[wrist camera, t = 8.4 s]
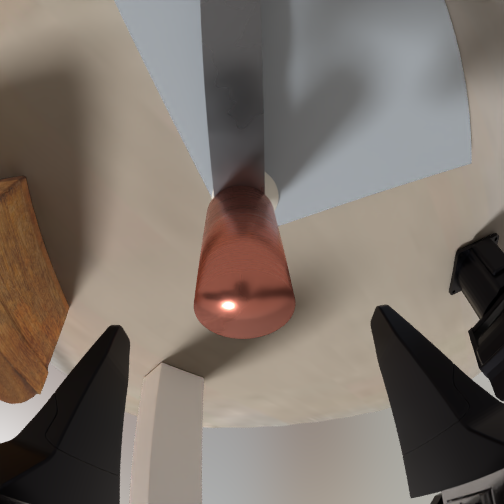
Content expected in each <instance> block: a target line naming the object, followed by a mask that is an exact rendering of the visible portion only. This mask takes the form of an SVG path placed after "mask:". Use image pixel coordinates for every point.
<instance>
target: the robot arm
mask: <svg viewBox="0 0 504 504" xmlns="http://www.w3.org/2000/svg"><path fill="white" fill-rule="evenodd" d="M498 239H499V235H498V234H497V233H494V234H492V235H490V236H488V237H486V238H484V239H482V240H480V241H477V242H475V243H473V244H471V245H469V246H467V247H464V248H462V249H460V250H458V251H457V253H456V255H455V261H454V267H453V273H452V278H451V283H450V288H449V293H450V294H451V295H453V294H456V293H458V292H460V291H462V292H463V294H464V295H465V297H466V298H467V300H468V301H469V303H470V304H471V306H472V308H473V309H474V311H475V312H476V314H477V316H478V317H479V319H480V320H479V321H478V322H477V324H476V325H475V326H474V327H473V328H471V329H470V330H469V331H468V333H469V336H470V340H471V343H472V346H473V349H474V353H475V356H476V359H477V363H478V366H479V369H480V370H481V371H482V372H483V373H484V375H485V376H486V377H487V378H489V380H490V382H491V385H492V387H493V390H494V393H495V395H496V397H497V398H498V399H500V400H501V401H504V253H503V252H502V250H501V249H500V248H499V247H498V246H497V243H498ZM371 329H372V334H373V339H374V344H375V349H376V354H377V359H378V363H379V367H380V370H381V373H382V377H383V380H384V384H385V387H386V390H387V394H388V398H389V401H390V405H391V408H392V412H393V416H394V420H395V424H396V428H397V432H398V436H399V441H400V445H401V449H402V455H403V460H404V465H405V470H406V475H407V480H408V486H409V491H410V497H411V498H415V497H420V496H424V495H428V494H432V493H436V492H440V491H441V493H440V494H438V495H436V496H435V497H434V499H433V501H432V502H431V504H504V403H502V402H499V401H498V400H497V399H496V398H494V397H493V396H492V395H490V394H489V393H488V392H487V391H485V390H484V389H483V388H482V387H480V386H479V385H478V384H476V383H475V382H474V381H473V380H472V379H470V378H469V377H468V376H467V375H466V374H465V373H464V372H463V371H461V370H460V369H459V368H458V367H457V366H456V365H455V364H453V362H452V361H451V360H450V359H448V358H447V357H446V356H445V355H444V354H443V353H442V352H441V351H440V350H439V349H438V348H436V347H435V346H434V345H433V344H432V343H431V342H430V341H429V340H428V339H426V338H425V337H424V336H423V335H422V334H421V333H420V332H419V331H418V330H416V329H415V328H414V327H413V326H412V325H411V324H410V323H408V322H407V321H406V320H405V319H404V318H403V317H402V316H400V315H399V314H398V313H397V312H396V311H395V310H393V309H392V308H391V307H390V306H389V305H380V306H377V307H376V309H375V311H374V314H373V316H372V319H371ZM129 353H130V340H129V338H128V336H127V334H126V333H125V331H124V329H123V328H122V326H120V325H111V326H109V327H108V328H107V329H106V331H105V332H104V333H103V334H102V335H101V336H100V337H99V339H98V340H97V341H96V342H95V343H94V345H93V346H92V347H91V348H90V349H89V350H88V352H87V353H86V354H85V355H84V356H83V358H82V359H81V360H80V361H79V363H78V364H77V365H76V366H75V367H74V369H73V370H72V371H71V372H70V374H69V375H68V376H67V377H66V379H65V380H64V381H63V382H62V384H61V385H60V386H59V387H58V389H57V390H56V391H55V393H54V394H53V395H52V396H51V398H50V399H49V400H48V402H47V403H46V404H45V405H44V406H43V408H42V409H41V410H40V411H39V412H38V414H37V415H36V416H35V417H34V418H33V419H32V420H31V421H30V422H29V423H28V424H27V426H26V427H25V428H24V429H23V430H22V431H21V432H20V433H19V434H18V435H17V436H16V437H15V438H13V439H12V440H10V441H7V442H4V443H0V504H119V502H120V501H119V499H120V460H121V444H122V432H123V421H124V411H125V403H126V395H127V387H128V376H129Z"/></svg>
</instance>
